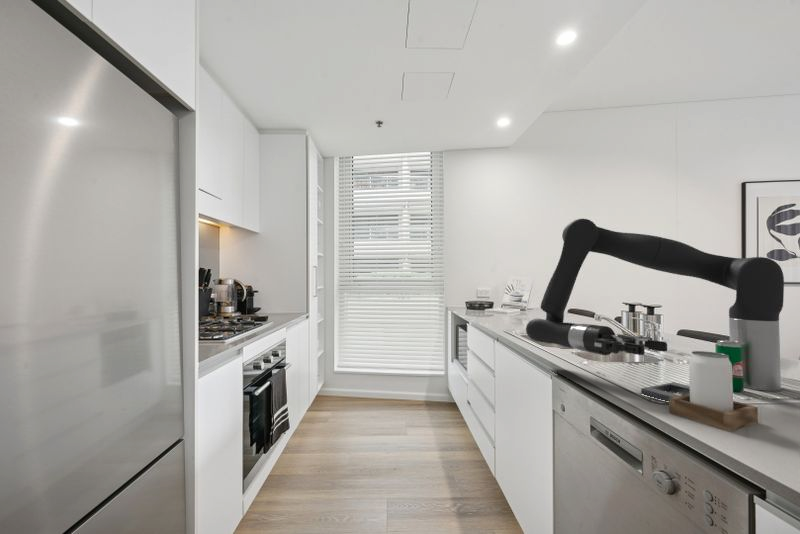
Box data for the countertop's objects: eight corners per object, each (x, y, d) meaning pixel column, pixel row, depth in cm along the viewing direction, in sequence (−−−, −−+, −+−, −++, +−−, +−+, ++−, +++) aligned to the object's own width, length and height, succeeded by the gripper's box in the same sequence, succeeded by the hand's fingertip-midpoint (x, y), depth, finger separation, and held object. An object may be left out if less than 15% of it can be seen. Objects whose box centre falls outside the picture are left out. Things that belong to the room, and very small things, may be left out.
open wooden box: (696, 405, 77) (696, 391, 77) (758, 422, 68) (757, 406, 68) (669, 412, 73) (668, 397, 73) (730, 431, 64) (730, 414, 64)
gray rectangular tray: (673, 388, 89) (673, 382, 89) (717, 399, 81) (717, 392, 81) (641, 395, 84) (641, 388, 84) (684, 408, 75) (684, 400, 76)
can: (742, 422, 67) (740, 358, 67) (702, 419, 68) (701, 356, 68) (719, 410, 73) (717, 351, 73) (683, 407, 74) (682, 350, 75)
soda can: (737, 394, 85) (736, 343, 85) (711, 388, 90) (710, 340, 90) (748, 391, 87) (747, 342, 87) (722, 385, 92) (721, 339, 92)
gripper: (572, 326, 93) (635, 334, 78) (608, 323, 99) (672, 330, 84) (573, 355, 93) (636, 368, 78) (609, 350, 99) (674, 361, 84)
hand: (655, 348), depth 81 cm, fingers open, 8 cm apart
